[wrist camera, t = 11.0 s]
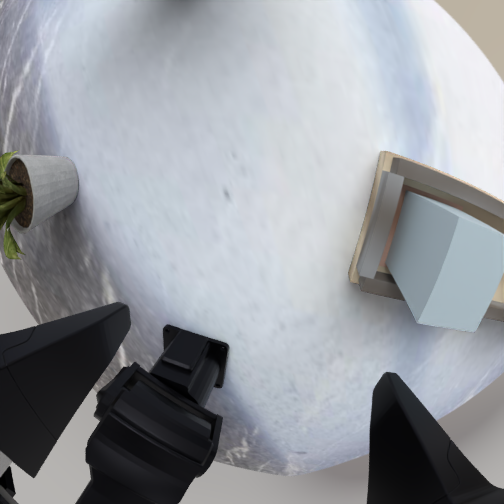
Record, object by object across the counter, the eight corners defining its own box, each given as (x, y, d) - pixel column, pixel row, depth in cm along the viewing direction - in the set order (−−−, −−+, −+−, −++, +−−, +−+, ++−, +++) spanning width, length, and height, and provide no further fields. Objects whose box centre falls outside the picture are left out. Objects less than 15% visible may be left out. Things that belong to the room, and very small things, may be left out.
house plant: (148, 162, 19) (-59, 220, 4) (94, 277, 25) (-21, 367, 10) (62, 92, 18) (-77, 102, 3) (27, 199, 24) (-78, 244, 9)
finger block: (435, 275, 16) (478, 333, 10) (385, 262, 17) (417, 323, 10) (457, 208, 14) (518, 242, 8) (406, 190, 15) (459, 216, 8)
